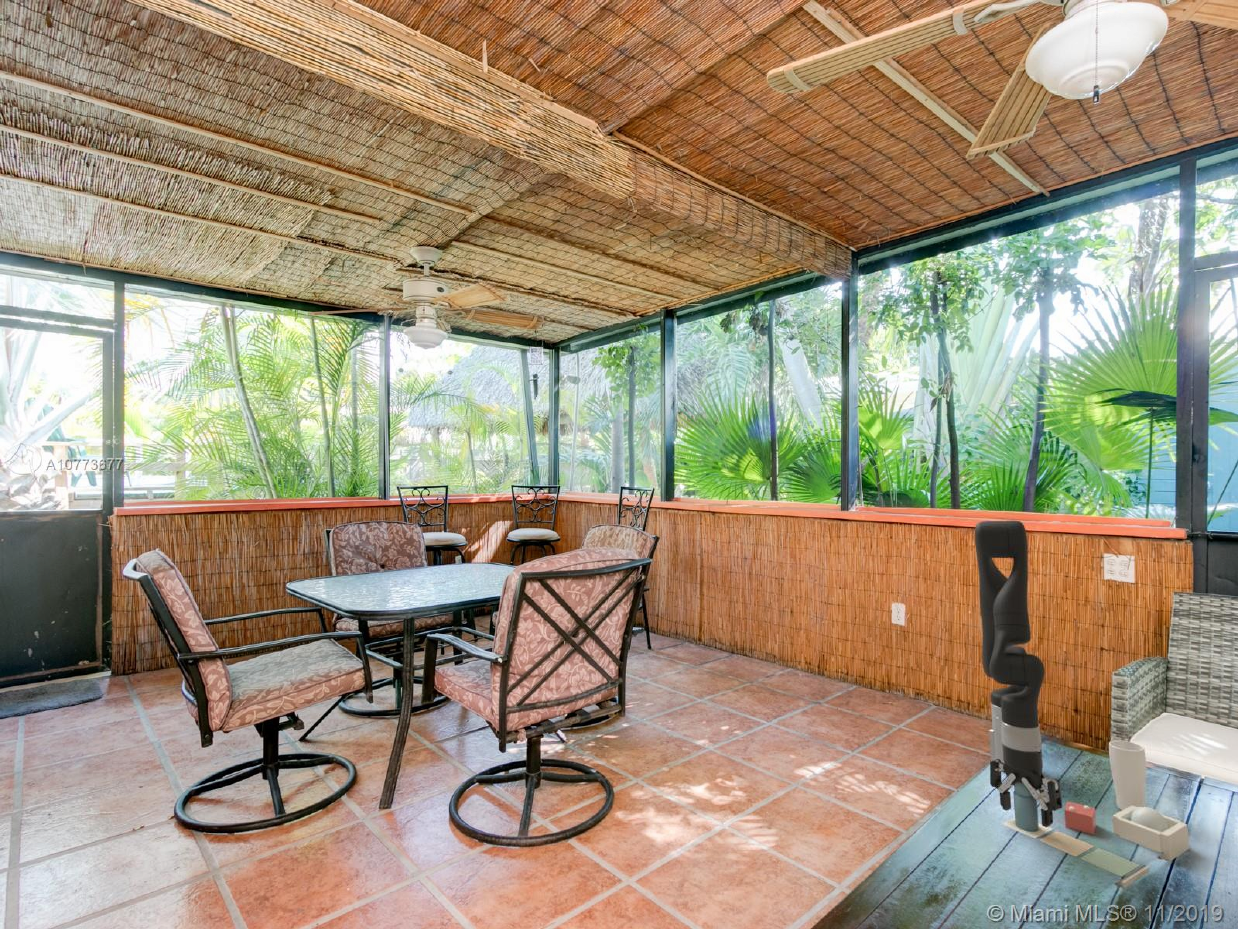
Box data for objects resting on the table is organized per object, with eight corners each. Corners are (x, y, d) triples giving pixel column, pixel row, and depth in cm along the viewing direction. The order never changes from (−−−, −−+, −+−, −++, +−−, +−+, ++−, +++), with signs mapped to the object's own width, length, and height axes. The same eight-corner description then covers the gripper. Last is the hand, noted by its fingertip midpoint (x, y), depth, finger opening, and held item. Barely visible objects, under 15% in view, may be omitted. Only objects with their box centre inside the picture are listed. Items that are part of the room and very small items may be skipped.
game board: (993, 829, 142) (993, 823, 142) (1019, 817, 147) (1019, 812, 147) (1123, 888, 120) (1123, 881, 120) (1149, 872, 125) (1148, 865, 125)
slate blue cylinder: (1011, 825, 142) (1008, 778, 142) (1022, 819, 144) (1019, 774, 144) (1031, 833, 138) (1028, 786, 138) (1043, 828, 140) (1039, 781, 140)
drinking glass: (1136, 803, 152) (1131, 740, 153) (1157, 817, 145) (1152, 751, 146) (1106, 803, 152) (1101, 739, 153) (1125, 817, 146) (1121, 751, 147)
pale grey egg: (1127, 839, 136) (1124, 806, 136) (1140, 831, 139) (1138, 799, 139) (1161, 853, 131) (1158, 818, 131) (1174, 844, 134) (1172, 810, 134)
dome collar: (1112, 840, 137) (1110, 816, 137) (1135, 827, 141) (1133, 804, 142) (1168, 862, 128) (1166, 837, 128) (1190, 848, 133) (1188, 823, 133)
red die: (1066, 833, 140) (1064, 807, 140) (1069, 824, 144) (1067, 798, 144) (1094, 840, 137) (1092, 814, 137) (1096, 831, 140) (1094, 805, 141)
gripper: (980, 737, 146) (984, 808, 145) (1045, 758, 134) (1051, 836, 133) (999, 730, 150) (1004, 800, 149) (1065, 750, 137) (1070, 827, 136)
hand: (1026, 817), depth 141 cm, fingers open, 8 cm apart
